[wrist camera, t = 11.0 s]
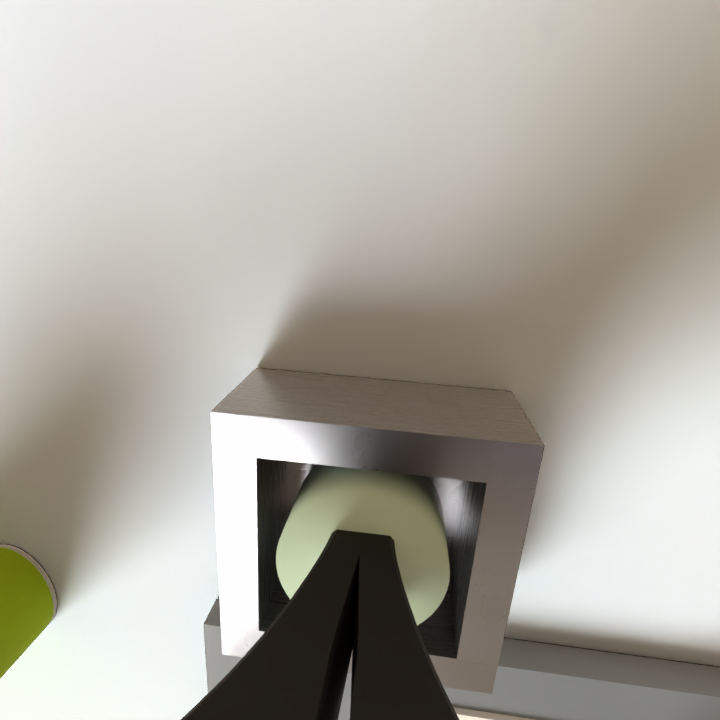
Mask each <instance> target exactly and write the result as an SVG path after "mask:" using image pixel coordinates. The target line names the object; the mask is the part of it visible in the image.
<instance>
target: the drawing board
mask: <svg viewBox="0 0 720 720" xmlns="http://www.w3.org/2000/svg"><path fill="white" fill-rule="evenodd" d="M204 638H205V654H206V669H207V685H208V693H209V692H210V691H211V690H212V689H213V688H214V687H215V686H216V685H217V684H218V683H219V682H220V681H221V680H222V679H223V678H224V677H225V676H226V675H227V674H228V673H229V672H230V671H231V670H232V669H233V667H234V666H235V665H236V664H237V663H238V662H239V661H240V660H241V659H242V658H243V657H236V656H230V655H223V654H222V641H221V620H220V600H219V599H216V601H215V603H214V605H213V607H212V609H211V611H210V613H209V615H208V617H207V619H206V621H205V622H204ZM351 676H352V673H348V674H347V678H346V683H345V688H344V693H343V698H342V702H341V707H340V712H339V717H338V720H350V703H351ZM443 688H444V690H445V692H446V694H447V696H448V698H449V700H450V702H451V704H452V706H453V708H454V710H455V712H456V714H457V716H458V718H459V720H720V667H713V666H706V665H698V664H691V663H684V662H676V661H669V660H662V659H654V658H647V657H640V656H632V655H625V654H618V653H610V652H603V651H596V650H588V649H581V648H574V647H566V646H559V645H552V644H544V643H537V642H530V641H522V640H515V639H508V638H504V639H503V644H502V649H501V653H500V658H499V663H498V668H497V672H496V677H495V682H494V686H493V691H492V694H488V693H482V692H475V691H468V690H461V689H454V688H448V687H443Z"/></svg>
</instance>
